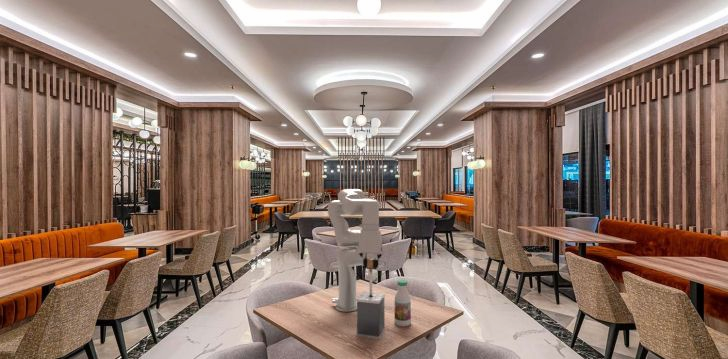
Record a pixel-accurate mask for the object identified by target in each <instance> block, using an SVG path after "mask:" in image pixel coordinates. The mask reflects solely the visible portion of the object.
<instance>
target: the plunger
mask: <svg viewBox="0 0 728 359" xmlns="http://www.w3.org/2000/svg"><path fill="white" fill-rule="evenodd" d="M374 260H375V258H372V257H369V258H368V259H366V268H365V269H366V270H369V292H370V297H372V292H373V270H375V269H374Z"/></svg>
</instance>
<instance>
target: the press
mask: <svg viewBox="0 0 728 359" xmlns="http://www.w3.org/2000/svg"><path fill="white" fill-rule="evenodd" d="M385 296H386V293H381V292H373V291H372V297H370V291H362V292H361V294H359V296H358V297H356V303H357V310H356V337H361V338H367V339H373V340H374V339H375V340H380V339H381V337H382V336H383V334H384V332H385V330H386V326H385V318H386V317H385V315H386V314H385Z"/></svg>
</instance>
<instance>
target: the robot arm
mask: <svg viewBox="0 0 728 359" xmlns="http://www.w3.org/2000/svg"><path fill="white" fill-rule="evenodd" d="M379 204H380V203H379V201H378V200H377V199H371V198H365V194H364V191H363V190H361V189H359V188H353V189H352V188H344V189H342V190H340V191H339V192H338V195H337V200H336V199H335V200H331V201H330V202H329V203H328V205H327V214H328V218H329V219H330V222H331V223H332V226H333V231H334V237H335V241H336V244H337V246H338V247H339V248H341V249H340V250H338V251H337V254H336V261H337V268H338V270H337V271H338V298H336V297H332V299H331V302H332V304H335V309H336V310H337V311H339V312H345V313H348V312H349V313H351V312H355V311H357V301H356V299H357V274H356V271H355V270H354V269H353V267H358V266H363V268H364V269H366V259H368V258H370V257H369V256H370V254H373V255H374V259H375V260H374V269H373V270H377V269H378V268H379V259H381V257H383V256H384V255H386V253H387V252H386V249H385V248H384V246H383V240H382V239H383V238H382V232H381V229H380V214H379V213H380V211H379V210H380V206H379ZM342 215H345V216H346V215H349V216H361V218H362V220H361V221H362V223H361V224H359V226H358V227H359V228H361V230H359V229H350V228H349V227H350V226H349V223H348V221H347V220H346V219H345V218H344V217H343V216H342Z"/></svg>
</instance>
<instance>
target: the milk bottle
mask: <svg viewBox="0 0 728 359" xmlns="http://www.w3.org/2000/svg"><path fill="white" fill-rule="evenodd" d="M396 290H397V291H396V293H395V295H394V309H393V310H394V324H395V325H396V326H398V327H409V326H410V325H411V322H412V309H411V308H412V307H411V302H412V301H411V296H410V293H409V291H408V281H407V280H405V279H404V280H403V279H399V280H398V281H397V289H396Z"/></svg>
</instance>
